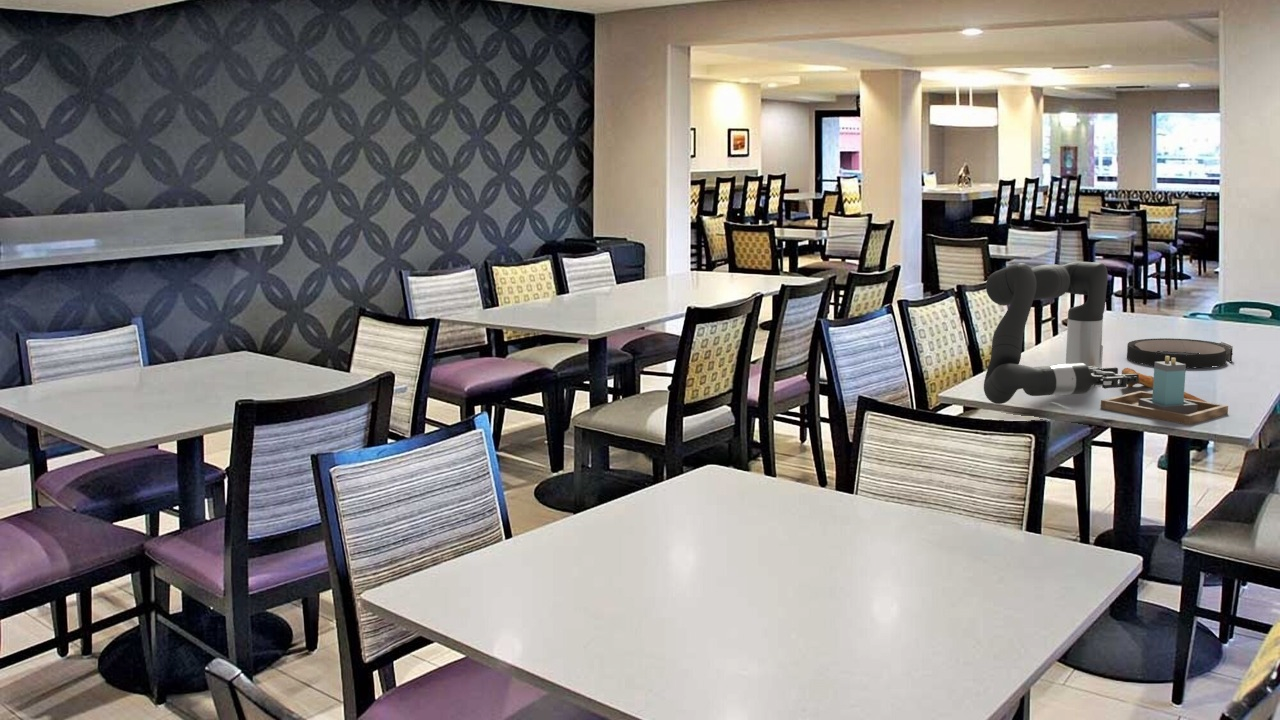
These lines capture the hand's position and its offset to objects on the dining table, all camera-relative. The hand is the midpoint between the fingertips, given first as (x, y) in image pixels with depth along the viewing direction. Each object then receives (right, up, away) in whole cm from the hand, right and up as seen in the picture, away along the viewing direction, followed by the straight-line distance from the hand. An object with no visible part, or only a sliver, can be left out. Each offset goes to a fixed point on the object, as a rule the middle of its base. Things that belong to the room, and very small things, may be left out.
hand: (1127, 374), depth 278 cm
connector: (+11, -9, +3) cm, 15 cm away
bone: (+17, -7, +21) cm, 28 cm away
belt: (+47, +3, +72) cm, 86 cm away
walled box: (+11, -9, +4) cm, 15 cm away
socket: (+11, -9, +3) cm, 15 cm away
